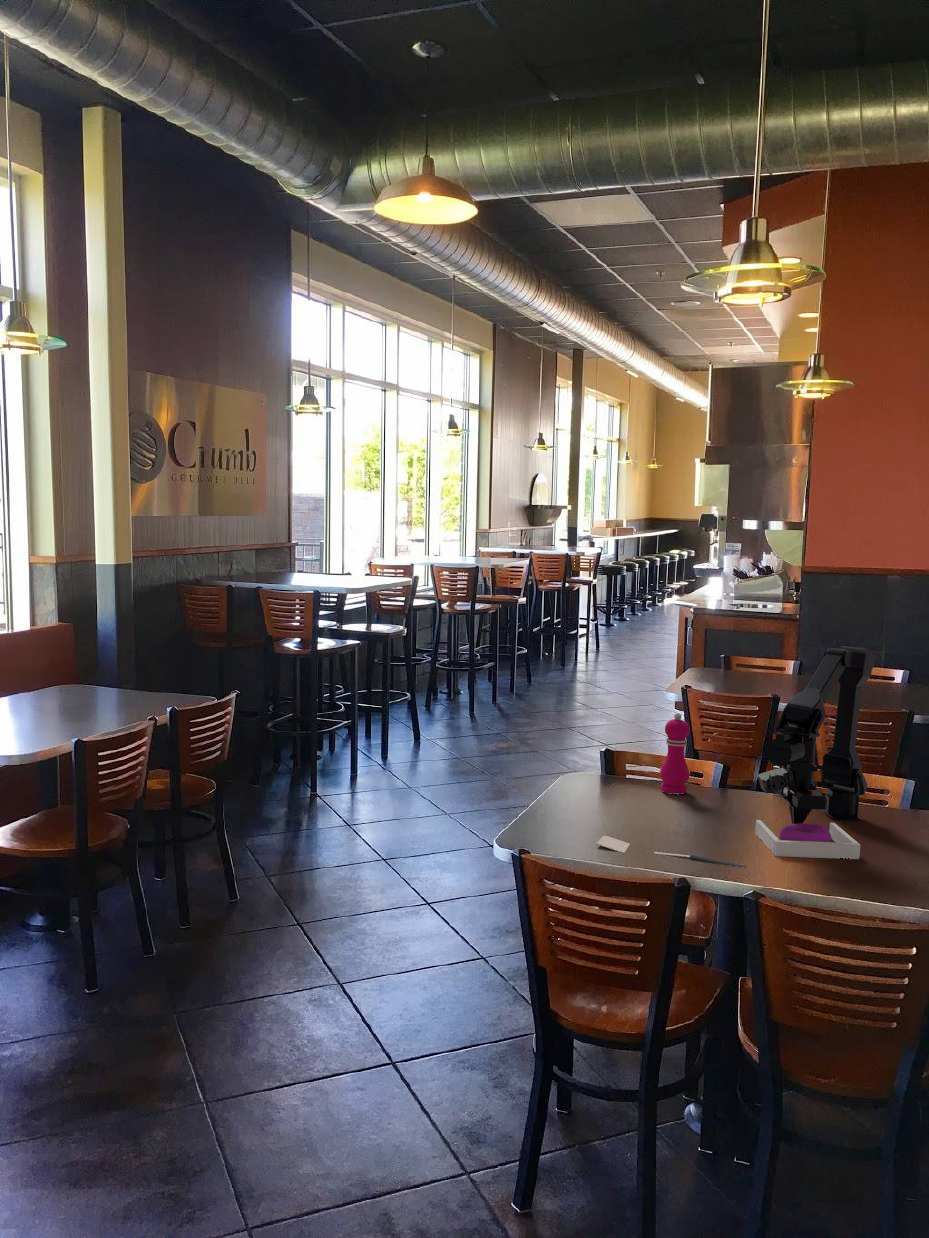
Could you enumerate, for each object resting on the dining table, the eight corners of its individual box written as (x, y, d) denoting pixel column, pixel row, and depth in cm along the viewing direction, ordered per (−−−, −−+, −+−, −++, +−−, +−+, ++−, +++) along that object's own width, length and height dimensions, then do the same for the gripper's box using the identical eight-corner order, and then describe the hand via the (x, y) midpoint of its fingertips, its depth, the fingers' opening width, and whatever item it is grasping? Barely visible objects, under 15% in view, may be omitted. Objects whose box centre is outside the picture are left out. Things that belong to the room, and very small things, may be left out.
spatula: (603, 841, 203) (604, 835, 203) (748, 865, 192) (748, 857, 192) (595, 850, 198) (596, 843, 198) (744, 874, 186) (744, 867, 186)
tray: (833, 836, 210) (834, 822, 210) (859, 859, 196) (860, 844, 196) (755, 833, 211) (755, 819, 210) (775, 855, 196) (776, 841, 196)
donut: (792, 836, 210) (794, 816, 209) (839, 848, 203) (840, 826, 203) (771, 847, 202) (773, 825, 202) (819, 859, 196) (820, 837, 195)
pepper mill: (691, 796, 238) (695, 716, 237) (661, 795, 239) (666, 715, 237) (685, 788, 246) (689, 710, 244) (656, 787, 246) (660, 709, 244)
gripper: (751, 747, 217) (746, 815, 219) (776, 768, 199) (771, 842, 200) (800, 749, 217) (796, 816, 219) (830, 770, 199) (825, 844, 200)
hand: (796, 829), depth 210 cm, fingers closed
